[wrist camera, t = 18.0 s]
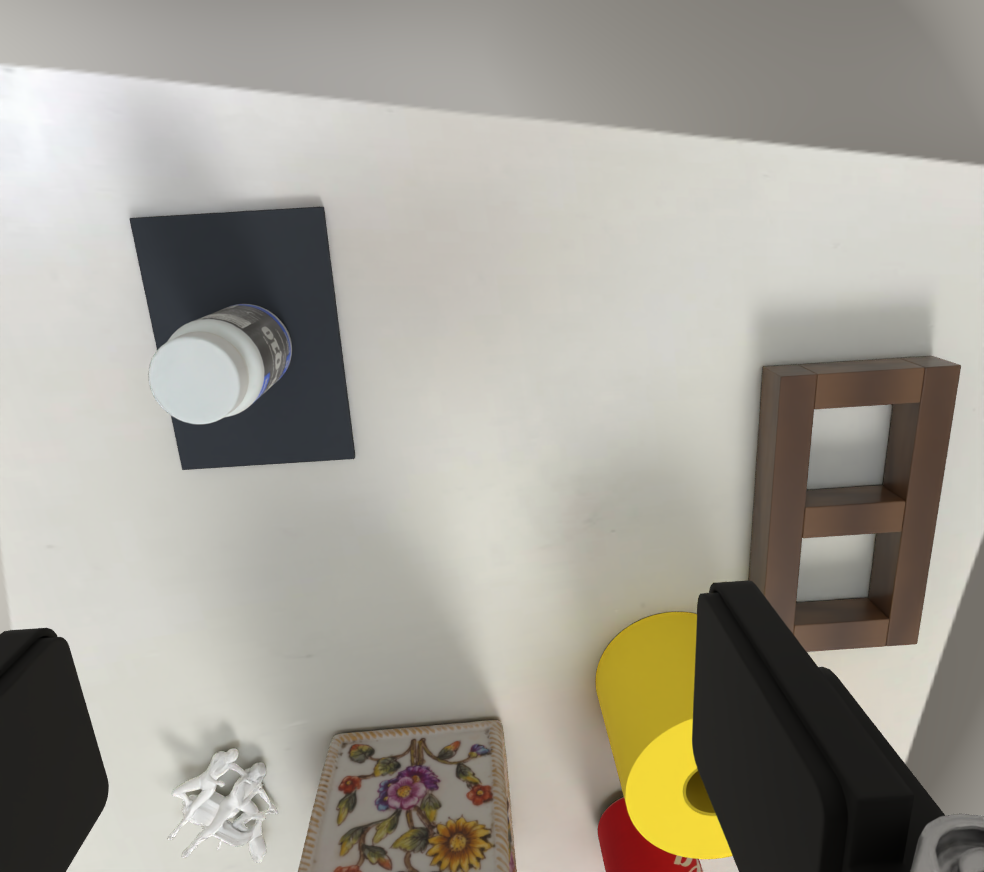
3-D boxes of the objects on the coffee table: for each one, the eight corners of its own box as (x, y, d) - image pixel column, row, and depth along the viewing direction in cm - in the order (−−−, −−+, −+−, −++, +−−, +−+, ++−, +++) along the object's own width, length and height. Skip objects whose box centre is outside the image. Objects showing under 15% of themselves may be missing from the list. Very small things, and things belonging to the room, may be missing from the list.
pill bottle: (293, 391, 40) (248, 438, 32) (207, 383, 39) (140, 429, 31) (294, 306, 38) (248, 334, 30) (205, 297, 38) (135, 322, 30)
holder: (744, 632, 46) (759, 655, 44) (762, 366, 40) (781, 376, 38) (894, 621, 46) (917, 644, 44) (932, 355, 40) (961, 365, 38)
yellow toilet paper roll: (770, 637, 46) (843, 741, 37) (704, 753, 49) (757, 876, 40) (632, 593, 45) (673, 690, 36) (572, 715, 48) (596, 834, 39)
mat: (132, 218, 37) (129, 218, 36) (323, 206, 37) (322, 206, 36) (184, 467, 41) (182, 470, 41) (355, 456, 41) (354, 459, 41)
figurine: (218, 724, 47) (318, 783, 49) (160, 800, 49) (258, 855, 50) (201, 755, 44) (307, 818, 46) (139, 835, 46) (243, 893, 47)
